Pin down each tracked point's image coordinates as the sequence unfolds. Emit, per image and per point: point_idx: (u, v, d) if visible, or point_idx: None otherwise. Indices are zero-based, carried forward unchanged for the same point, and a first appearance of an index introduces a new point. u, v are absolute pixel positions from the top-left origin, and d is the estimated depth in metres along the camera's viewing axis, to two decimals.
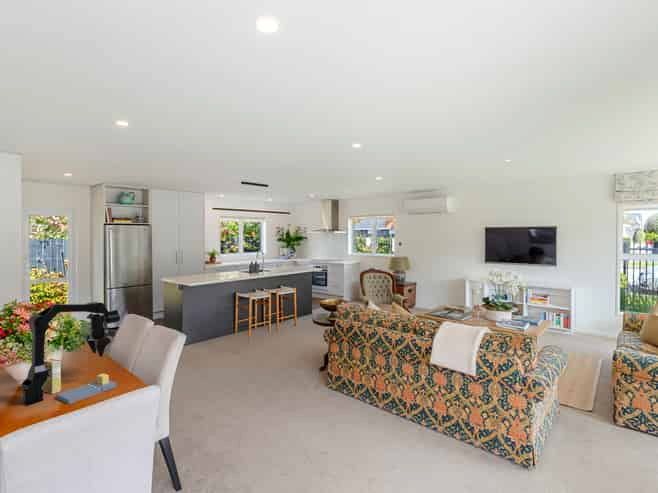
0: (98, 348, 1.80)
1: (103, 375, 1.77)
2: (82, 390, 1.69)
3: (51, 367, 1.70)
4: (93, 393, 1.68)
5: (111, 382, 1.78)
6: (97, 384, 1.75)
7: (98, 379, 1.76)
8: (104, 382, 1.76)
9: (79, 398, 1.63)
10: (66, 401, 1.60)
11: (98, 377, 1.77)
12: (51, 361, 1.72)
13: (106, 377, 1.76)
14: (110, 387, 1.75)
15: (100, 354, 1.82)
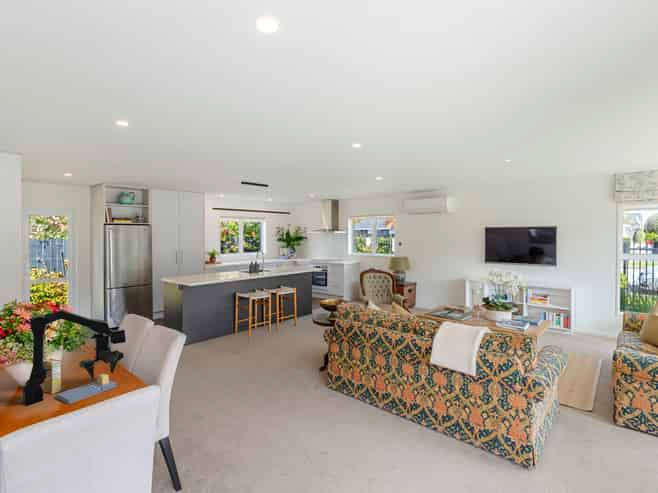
0: (87, 369, 1.73)
1: (103, 375, 1.77)
2: (82, 390, 1.69)
3: (51, 367, 1.70)
4: (93, 393, 1.68)
5: (111, 382, 1.78)
6: (97, 384, 1.75)
7: (98, 379, 1.76)
8: (104, 382, 1.76)
9: (79, 398, 1.63)
10: (66, 401, 1.60)
11: (98, 377, 1.77)
12: (51, 361, 1.72)
13: (106, 377, 1.76)
14: (110, 387, 1.75)
15: (91, 376, 1.73)
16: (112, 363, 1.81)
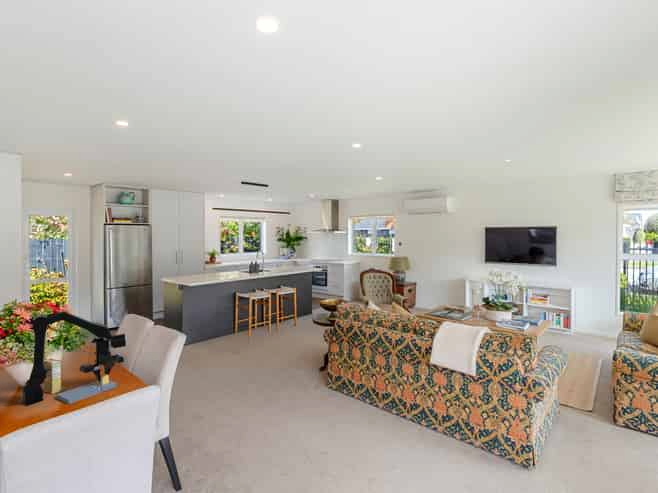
0: (93, 372, 1.75)
1: (103, 375, 1.77)
2: (82, 390, 1.69)
3: (51, 367, 1.70)
4: (93, 393, 1.68)
5: (111, 382, 1.78)
6: (97, 384, 1.75)
7: None
8: (104, 382, 1.76)
9: (79, 398, 1.63)
10: (66, 401, 1.60)
11: None
12: (51, 361, 1.72)
13: (106, 377, 1.76)
14: (110, 387, 1.75)
15: (97, 379, 1.76)
16: (106, 369, 1.79)
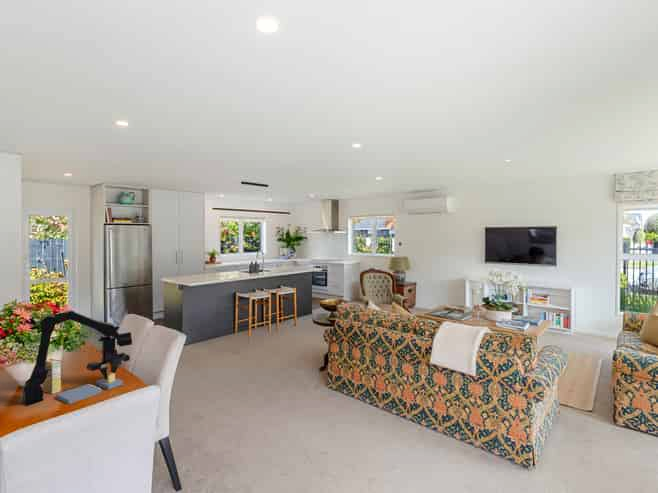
0: (100, 370, 1.78)
1: (109, 373, 1.80)
2: (82, 390, 1.69)
3: (51, 367, 1.70)
4: (93, 393, 1.68)
5: (117, 380, 1.81)
6: (103, 382, 1.78)
7: None
8: (110, 380, 1.78)
9: (79, 398, 1.63)
10: (66, 401, 1.60)
11: None
12: (51, 361, 1.72)
13: (112, 375, 1.79)
14: (116, 385, 1.77)
15: (104, 377, 1.78)
16: (113, 367, 1.82)
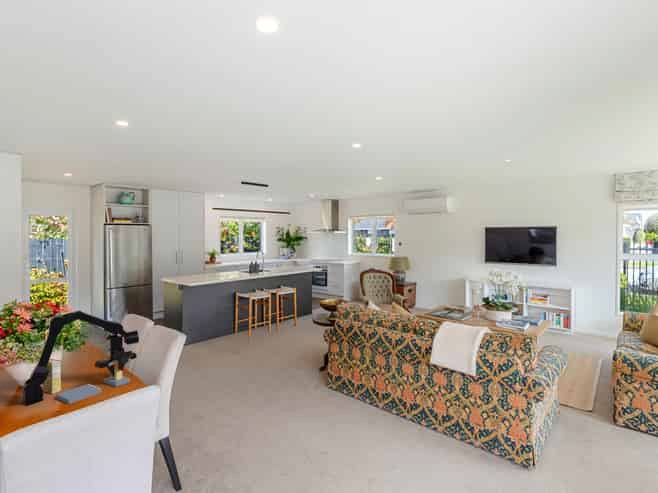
0: (108, 367, 1.81)
1: (117, 371, 1.83)
2: (82, 390, 1.69)
3: (51, 367, 1.70)
4: (93, 393, 1.68)
5: (124, 377, 1.84)
6: (111, 379, 1.81)
7: None
8: (118, 377, 1.82)
9: (79, 398, 1.63)
10: (66, 401, 1.60)
11: None
12: (51, 361, 1.72)
13: (120, 373, 1.82)
14: (124, 382, 1.81)
15: (111, 374, 1.81)
16: (120, 365, 1.85)
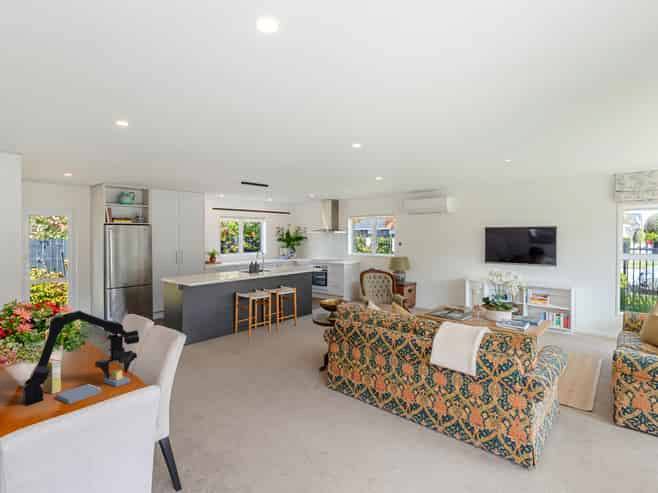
0: (102, 369, 1.79)
1: (117, 371, 1.83)
2: (82, 390, 1.69)
3: (51, 367, 1.70)
4: (93, 393, 1.68)
5: (125, 377, 1.84)
6: (111, 379, 1.81)
7: (112, 374, 1.82)
8: (118, 377, 1.82)
9: (79, 398, 1.63)
10: (66, 401, 1.60)
11: (112, 373, 1.83)
12: (51, 361, 1.72)
13: (120, 373, 1.82)
14: (124, 382, 1.81)
15: (106, 376, 1.79)
16: (126, 363, 1.88)
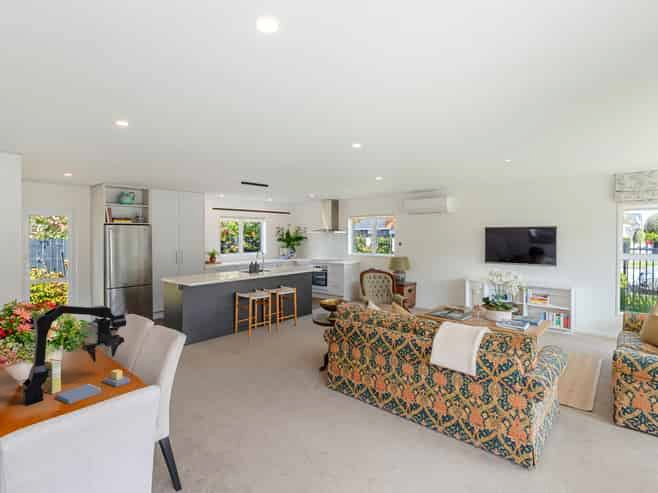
0: (89, 352, 1.80)
1: (117, 371, 1.83)
2: (82, 390, 1.69)
3: (51, 367, 1.70)
4: (93, 393, 1.68)
5: (125, 377, 1.84)
6: (111, 379, 1.81)
7: (112, 374, 1.82)
8: (118, 377, 1.82)
9: (79, 398, 1.63)
10: (66, 401, 1.60)
11: (112, 373, 1.83)
12: (51, 361, 1.72)
13: (120, 373, 1.82)
14: (124, 382, 1.81)
15: (92, 359, 1.80)
16: (113, 347, 1.88)
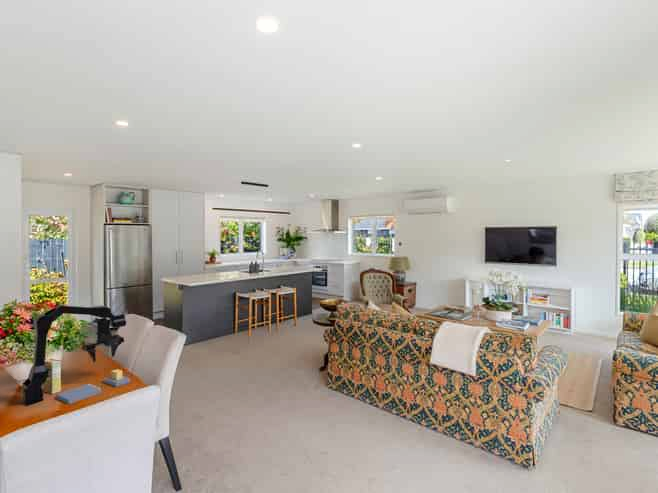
0: (89, 352, 1.80)
1: (117, 371, 1.83)
2: (82, 390, 1.69)
3: (51, 367, 1.70)
4: (93, 393, 1.68)
5: (125, 377, 1.84)
6: (111, 379, 1.81)
7: (112, 374, 1.82)
8: (118, 377, 1.82)
9: (79, 398, 1.63)
10: (66, 401, 1.60)
11: (112, 373, 1.83)
12: (51, 361, 1.72)
13: (120, 373, 1.82)
14: (124, 382, 1.81)
15: (92, 359, 1.80)
16: (113, 347, 1.88)
